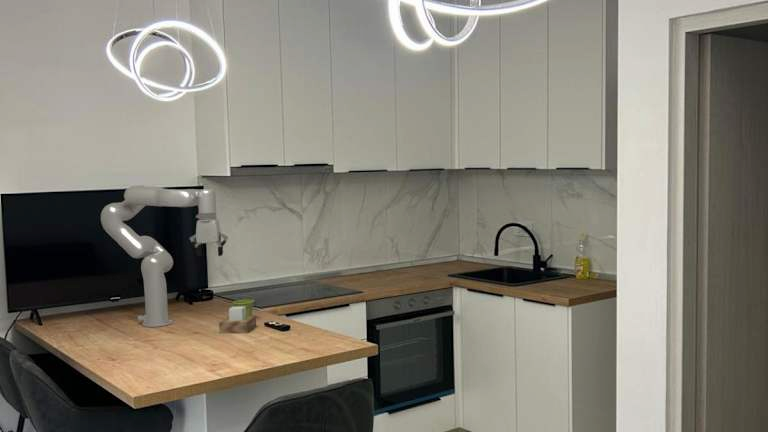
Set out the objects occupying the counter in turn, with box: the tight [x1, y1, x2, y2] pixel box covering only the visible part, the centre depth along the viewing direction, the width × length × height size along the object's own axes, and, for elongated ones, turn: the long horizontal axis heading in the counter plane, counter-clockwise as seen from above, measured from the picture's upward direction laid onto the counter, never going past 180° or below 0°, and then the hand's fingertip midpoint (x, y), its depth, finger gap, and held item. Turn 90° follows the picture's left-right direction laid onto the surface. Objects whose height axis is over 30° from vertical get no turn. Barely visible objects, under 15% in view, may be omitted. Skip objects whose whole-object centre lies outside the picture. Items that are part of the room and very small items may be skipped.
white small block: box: [228, 306, 246, 321], centre depth 309 cm, size 6×6×5 cm
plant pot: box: [232, 299, 255, 317], centre depth 330 cm, size 9×9×9 cm
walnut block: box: [218, 316, 257, 335], centre depth 309 cm, size 12×12×5 cm
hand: (209, 255), depth 323 cm, fingers open, 9 cm apart
